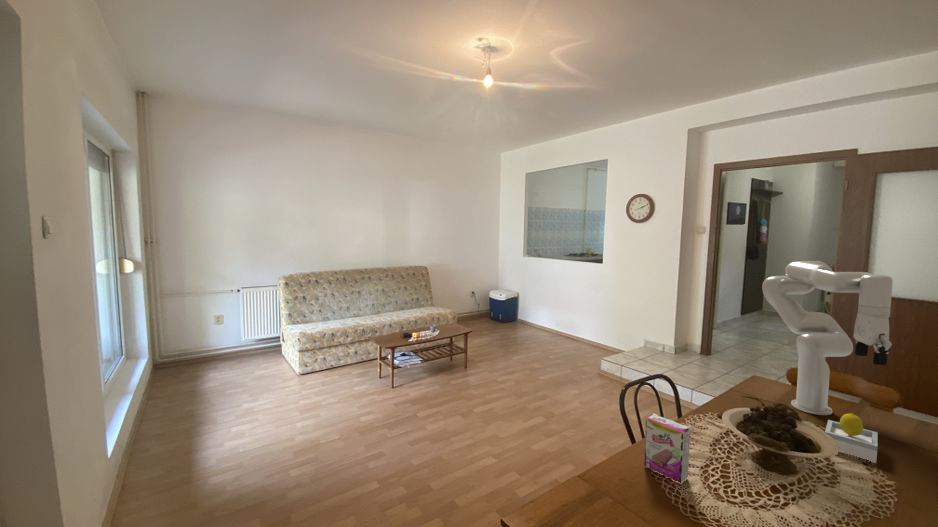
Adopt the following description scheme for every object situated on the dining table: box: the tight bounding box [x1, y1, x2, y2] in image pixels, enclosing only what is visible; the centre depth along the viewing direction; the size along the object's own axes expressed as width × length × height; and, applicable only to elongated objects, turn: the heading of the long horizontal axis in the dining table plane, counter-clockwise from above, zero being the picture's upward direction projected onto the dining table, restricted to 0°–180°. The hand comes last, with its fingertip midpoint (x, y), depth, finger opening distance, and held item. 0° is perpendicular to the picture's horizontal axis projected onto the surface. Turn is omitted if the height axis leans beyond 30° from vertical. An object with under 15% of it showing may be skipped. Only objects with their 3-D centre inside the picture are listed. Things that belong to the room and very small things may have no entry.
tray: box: [824, 419, 879, 464], centre depth 127 cm, size 12×12×6 cm
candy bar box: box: [643, 413, 691, 483], centre depth 114 cm, size 11×5×16 cm, turn 37°
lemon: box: [839, 412, 864, 437], centre depth 127 cm, size 6×6×8 cm
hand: (869, 359), depth 131 cm, fingers open, 9 cm apart
